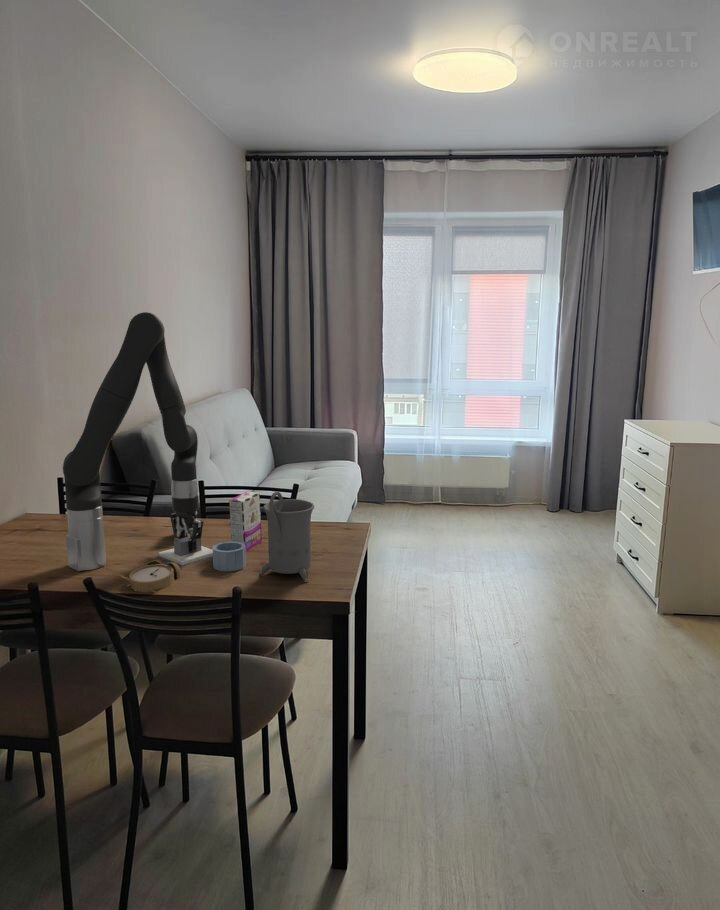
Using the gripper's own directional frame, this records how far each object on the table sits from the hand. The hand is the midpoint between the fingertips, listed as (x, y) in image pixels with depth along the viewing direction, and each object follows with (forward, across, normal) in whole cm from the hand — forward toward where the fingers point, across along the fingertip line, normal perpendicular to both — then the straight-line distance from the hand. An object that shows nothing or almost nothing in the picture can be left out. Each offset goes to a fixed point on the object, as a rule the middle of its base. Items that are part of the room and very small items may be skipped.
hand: (187, 550), depth 199 cm
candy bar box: (+2, +6, +17) cm, 18 cm away
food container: (+2, -15, +10) cm, 18 cm away
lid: (+2, 0, 0) cm, 2 cm away
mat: (+2, 0, 0) cm, 2 cm away
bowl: (+2, +16, +3) cm, 16 cm away
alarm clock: (+3, +11, -17) cm, 20 cm away
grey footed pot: (+2, +33, +10) cm, 35 cm away
